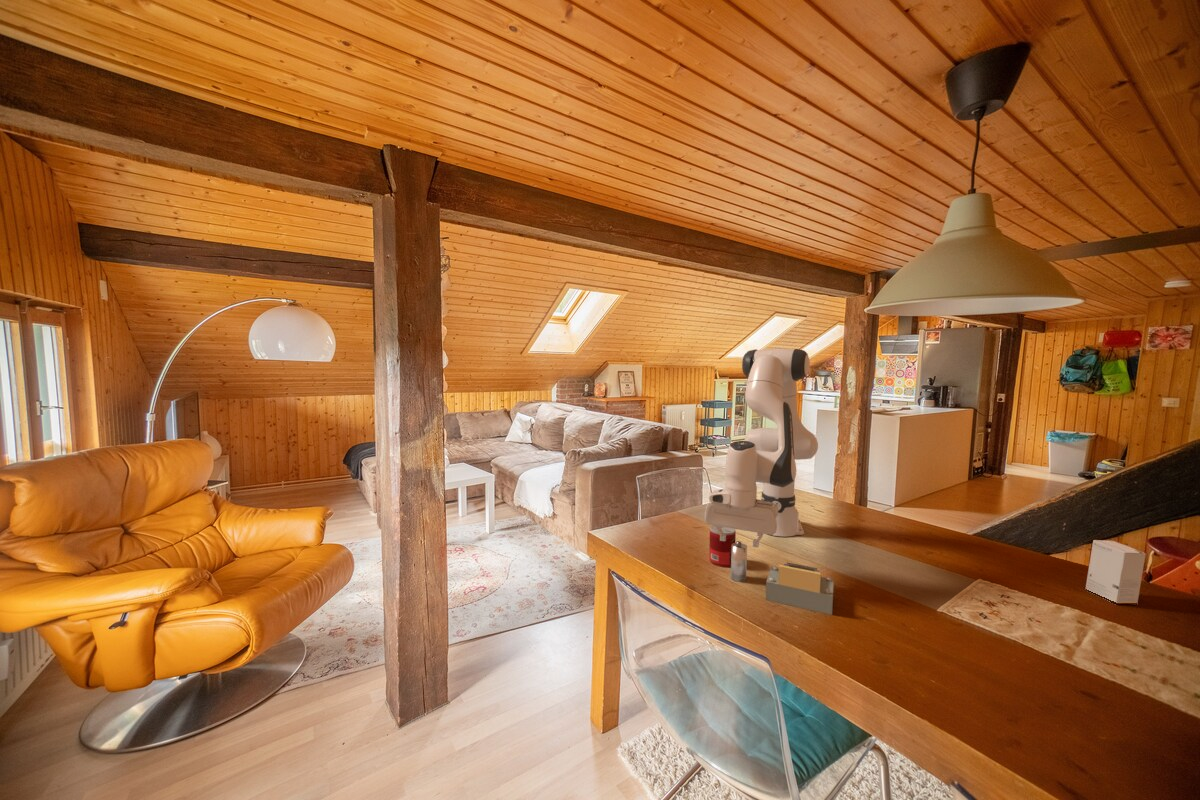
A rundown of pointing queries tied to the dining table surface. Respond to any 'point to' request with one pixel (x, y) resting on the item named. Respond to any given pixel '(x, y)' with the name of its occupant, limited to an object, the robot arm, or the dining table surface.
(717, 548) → the canned food
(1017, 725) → the dining table surface
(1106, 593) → the skincare box
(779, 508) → the robot arm
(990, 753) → the dining table surface
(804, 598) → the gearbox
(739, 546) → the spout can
